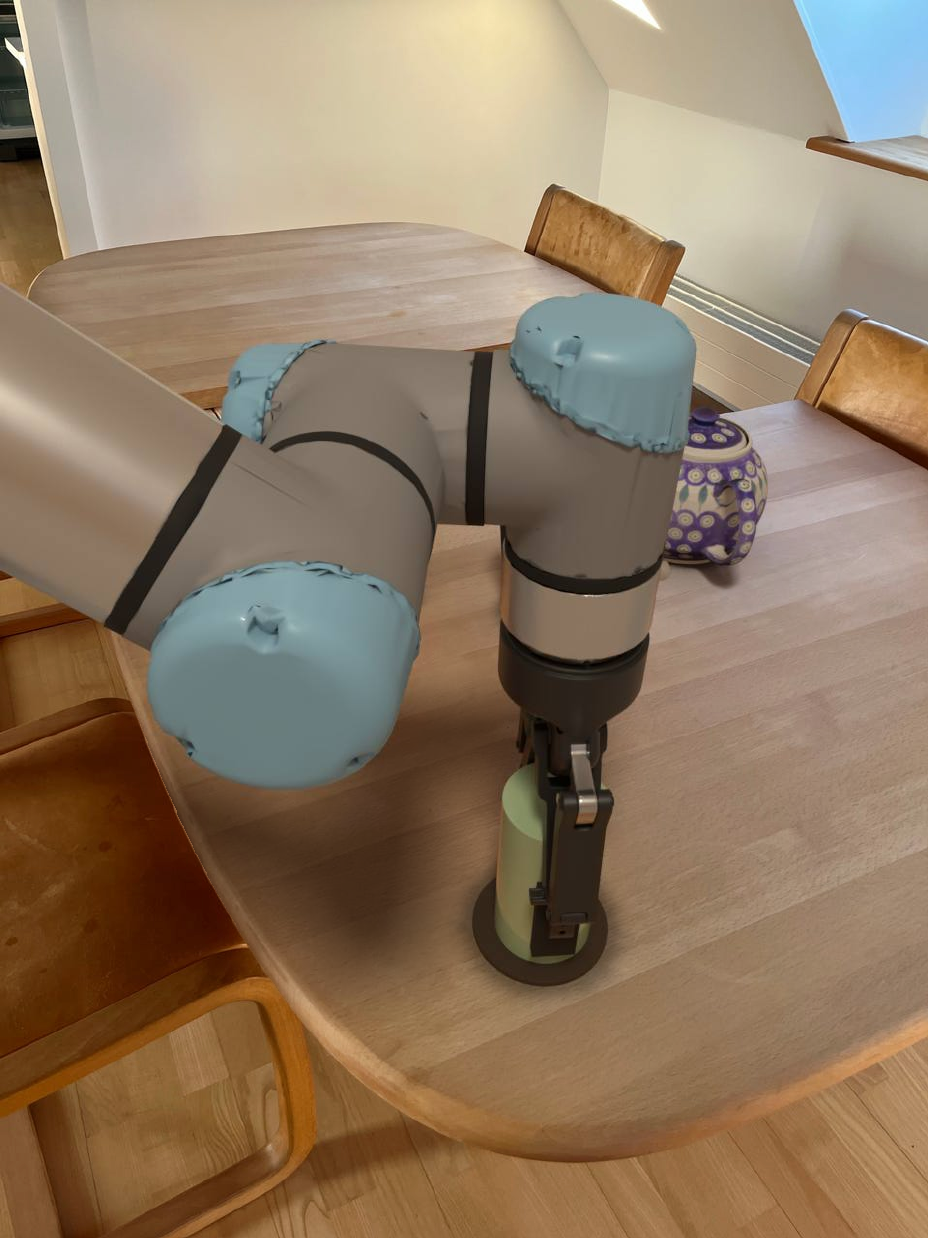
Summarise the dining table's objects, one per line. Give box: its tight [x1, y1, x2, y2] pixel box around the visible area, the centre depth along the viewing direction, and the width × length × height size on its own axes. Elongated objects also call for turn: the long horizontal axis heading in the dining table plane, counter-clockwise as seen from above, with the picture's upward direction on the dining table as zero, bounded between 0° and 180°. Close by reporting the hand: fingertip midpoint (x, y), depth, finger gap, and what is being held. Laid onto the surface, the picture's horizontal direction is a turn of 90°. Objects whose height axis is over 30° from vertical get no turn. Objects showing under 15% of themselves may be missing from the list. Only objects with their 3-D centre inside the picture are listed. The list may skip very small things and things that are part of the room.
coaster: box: [471, 876, 609, 987], centre depth 62 cm, size 9×9×1 cm
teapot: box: [663, 406, 769, 567], centre depth 96 cm, size 25×15×15 cm, turn 9°
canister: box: [494, 762, 610, 964], centre depth 59 cm, size 6×6×12 cm
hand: (543, 899), depth 61 cm, fingers open, 7 cm apart
